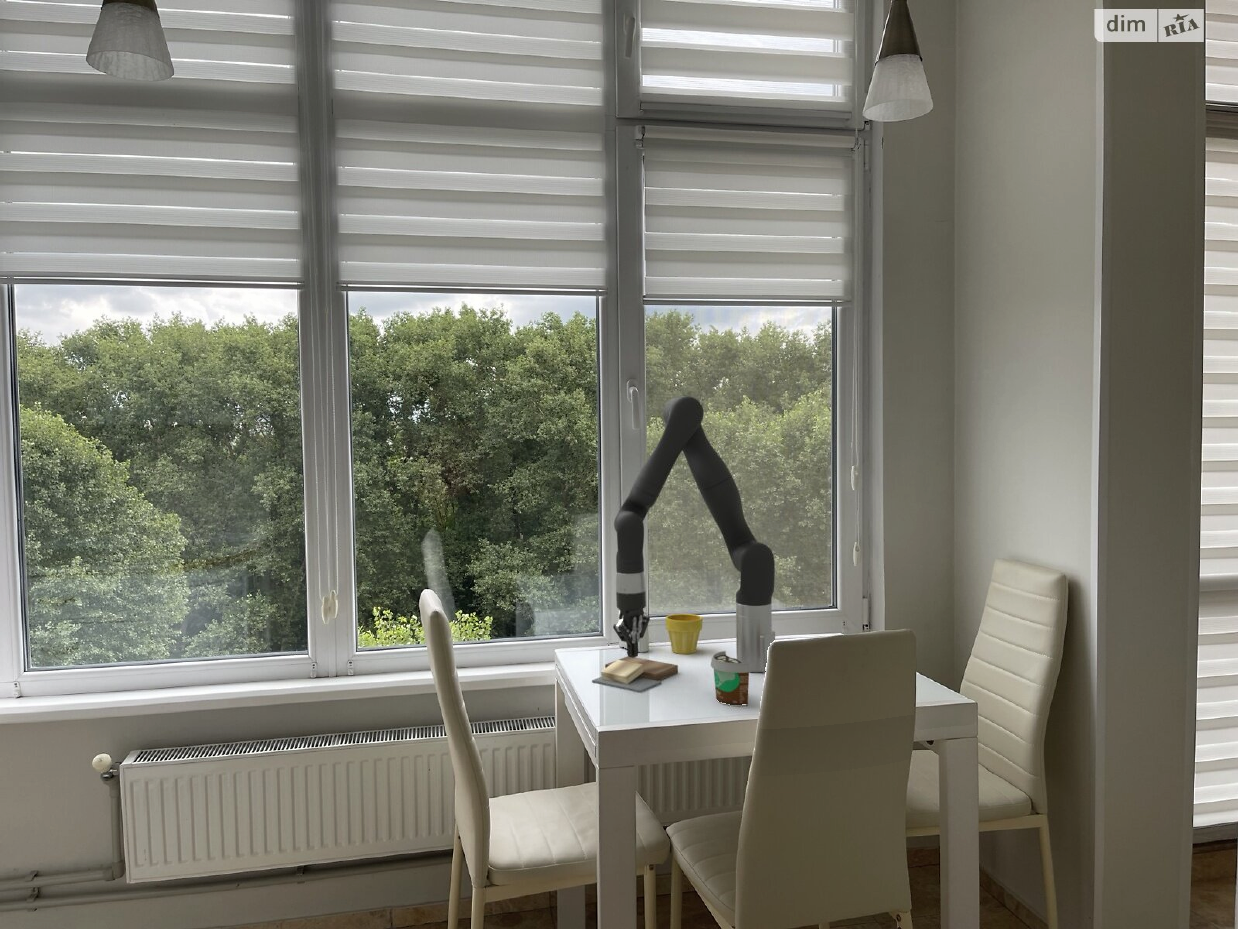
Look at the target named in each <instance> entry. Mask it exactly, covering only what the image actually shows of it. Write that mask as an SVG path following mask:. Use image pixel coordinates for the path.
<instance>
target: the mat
mask: <svg viewBox="0 0 1238 929" xmlns="http://www.w3.org/2000/svg"><path fill="white" fill-rule="evenodd" d="M591 682H592V683H593V684H599V685H603V686H609V687H612V688H617V689H622V688H623V690H625V691H626V690H627V691H632V692H636V691H637V692H636V693H640V694H641V693H643V692H645V691H647V690H650V689H652V688H655V687H657V686H659V685H662V684H663V682H662V681H661V680H659V681H656V680H651V679H646V678H641V677H636V678H635V679H634V680H632V681H631V682H630V683H628V684H624V683H619V682H614V681H609V680H604V679H602V676H600V677H597V678H594V679H592V680H591ZM642 691H643V692H642Z"/></svg>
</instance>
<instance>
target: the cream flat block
mask: <svg viewBox="0 0 1238 929" xmlns="http://www.w3.org/2000/svg"><path fill="white" fill-rule="evenodd" d="M614 661H615V662H614V663H612V664H611V665H609V666H608V667H607V668H605V667H604V669H602V670H601V671H600V675H601V676H600V677H602V679H604V680H609V681H614V682H619V683H624V684H628V683H630V682H631V681H632V680H634V679H635V678H636V677H638V676H639V675H640V674H642V673H643V672H644V670H643V664H638V663H632V662H627V661H622V660H619V659H616V660H614Z"/></svg>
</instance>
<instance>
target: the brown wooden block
mask: <svg viewBox="0 0 1238 929" xmlns="http://www.w3.org/2000/svg"><path fill="white" fill-rule="evenodd" d="M618 660H622V661H627V662H632V663H638V664H643V670H644V672H643V673H642V674H640V675H639V676H638V677H641V678H646V679H651V680H656V681H661V680H664V679H666V678H669V677H671V676H673V675H676V674H678V673H679V665H678V664H674V663H669V662H664V661H657V660H652V659H647V658H640V657H634V658H631V657H628V655H627V656H624V657H622V658H619V659H618ZM615 661H616V660H614V661H610V662H608V663H606V664H605V665H604V669H605V668H607V667H608V666H609V665H611V664H612V663H614V662H615Z"/></svg>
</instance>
